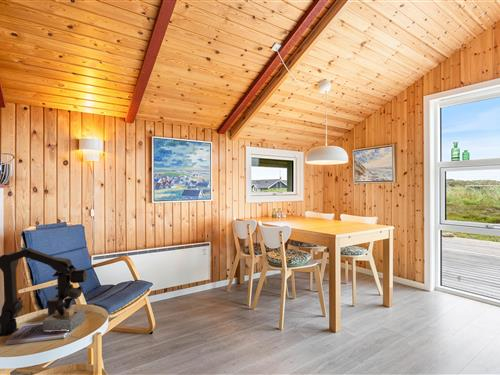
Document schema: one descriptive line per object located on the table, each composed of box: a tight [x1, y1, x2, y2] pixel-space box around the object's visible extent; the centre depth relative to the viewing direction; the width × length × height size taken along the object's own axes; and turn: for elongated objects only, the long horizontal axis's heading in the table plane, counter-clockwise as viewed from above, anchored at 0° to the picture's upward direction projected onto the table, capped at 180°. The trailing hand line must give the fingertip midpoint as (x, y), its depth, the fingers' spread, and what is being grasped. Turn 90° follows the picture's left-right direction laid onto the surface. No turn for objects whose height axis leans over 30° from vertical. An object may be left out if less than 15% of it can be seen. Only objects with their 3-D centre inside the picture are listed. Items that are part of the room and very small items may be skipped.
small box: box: [47, 296, 73, 317], centre depth 163 cm, size 11×6×10 cm, turn 168°
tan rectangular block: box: [55, 308, 75, 317], centre depth 148 cm, size 8×4×3 cm, turn 84°
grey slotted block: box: [42, 309, 86, 333], centre depth 148 cm, size 14×12×6 cm
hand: (64, 313), depth 148 cm, fingers closed on tan rectangular block, 4 cm apart
